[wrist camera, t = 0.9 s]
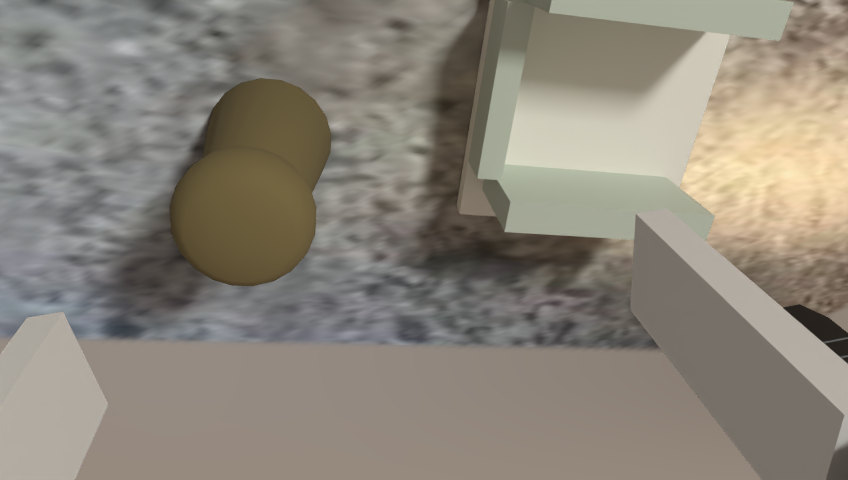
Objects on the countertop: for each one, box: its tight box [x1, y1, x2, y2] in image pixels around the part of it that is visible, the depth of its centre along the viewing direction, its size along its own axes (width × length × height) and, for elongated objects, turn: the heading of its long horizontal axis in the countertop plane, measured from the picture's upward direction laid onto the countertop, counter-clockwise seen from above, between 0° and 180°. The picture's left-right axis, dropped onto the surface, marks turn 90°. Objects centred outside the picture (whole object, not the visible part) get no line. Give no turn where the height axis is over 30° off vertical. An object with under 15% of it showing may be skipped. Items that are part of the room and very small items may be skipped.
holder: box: [456, 0, 794, 241], centre depth 29 cm, size 12×14×6 cm
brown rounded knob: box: [170, 78, 331, 286], centre depth 26 cm, size 6×6×11 cm
